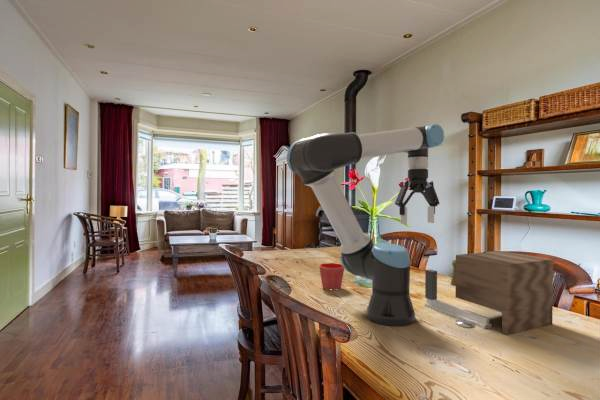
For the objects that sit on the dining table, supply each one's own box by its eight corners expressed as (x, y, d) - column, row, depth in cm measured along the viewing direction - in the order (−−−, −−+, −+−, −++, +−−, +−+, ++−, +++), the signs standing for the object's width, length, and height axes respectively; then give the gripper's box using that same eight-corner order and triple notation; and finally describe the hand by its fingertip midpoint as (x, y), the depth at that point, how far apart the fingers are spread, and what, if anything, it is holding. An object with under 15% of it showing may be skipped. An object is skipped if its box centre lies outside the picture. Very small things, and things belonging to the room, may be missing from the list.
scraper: (483, 329, 106) (484, 285, 106) (424, 306, 128) (424, 270, 128) (491, 327, 107) (491, 284, 107) (431, 305, 129) (431, 269, 129)
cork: (467, 286, 154) (467, 261, 154) (452, 286, 156) (452, 260, 155) (463, 283, 160) (463, 259, 160) (449, 282, 161) (449, 258, 161)
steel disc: (470, 329, 106) (470, 326, 106) (453, 325, 109) (453, 322, 109) (475, 325, 109) (475, 322, 109) (458, 321, 113) (458, 318, 113)
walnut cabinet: (506, 335, 101) (507, 264, 101) (455, 315, 117) (455, 255, 117) (552, 324, 110) (553, 259, 109) (498, 307, 126) (499, 250, 126)
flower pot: (348, 286, 154) (348, 264, 154) (337, 292, 144) (337, 269, 144) (326, 283, 159) (327, 262, 159) (314, 289, 150) (314, 266, 150)
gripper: (434, 170, 147) (434, 221, 147) (385, 168, 137) (385, 223, 137) (449, 169, 140) (448, 222, 140) (398, 166, 130) (398, 225, 130)
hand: (417, 223), depth 139 cm, fingers open, 13 cm apart
